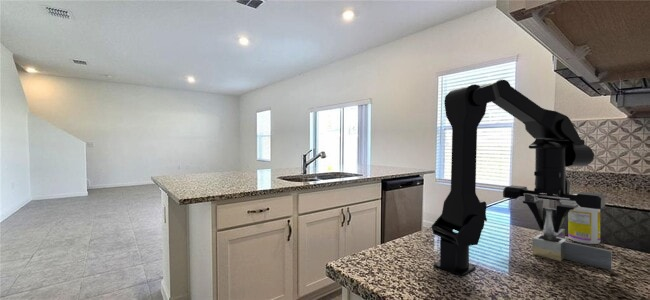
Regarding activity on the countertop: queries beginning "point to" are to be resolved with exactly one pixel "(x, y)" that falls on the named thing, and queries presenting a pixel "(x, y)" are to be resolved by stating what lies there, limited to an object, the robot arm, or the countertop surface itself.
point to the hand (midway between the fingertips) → (549, 231)
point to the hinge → (571, 251)
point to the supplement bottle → (584, 225)
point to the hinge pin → (549, 224)
